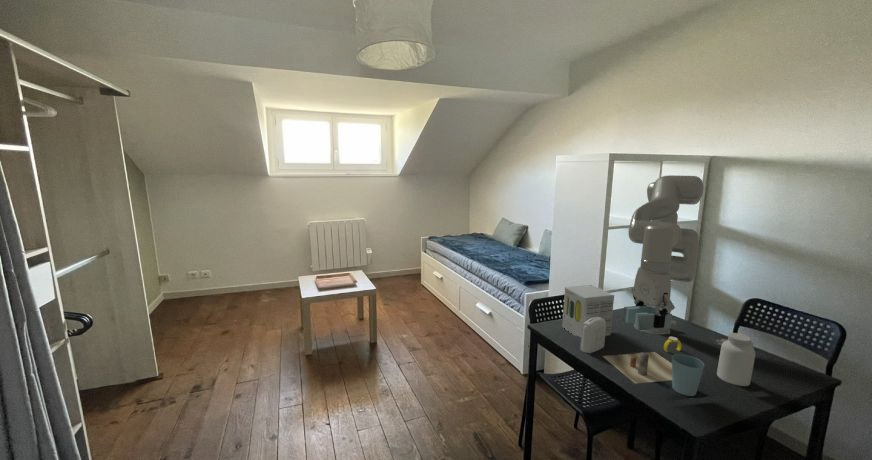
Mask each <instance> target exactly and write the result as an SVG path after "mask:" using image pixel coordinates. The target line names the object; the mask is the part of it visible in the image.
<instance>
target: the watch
mask: <svg viewBox="0 0 872 460" xmlns="http://www.w3.org/2000/svg"><path fill="white" fill-rule="evenodd" d="M672 342H673V343H677V347H676V350H677V351H679V352H680V351H681V350H682V343H681V341H680V340H679V339H678V337H675V336H668V339H667V340H665V341H664V343H663V350H664V351H665V352H666V353H668V346H669V345H670V343H672Z"/></svg>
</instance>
